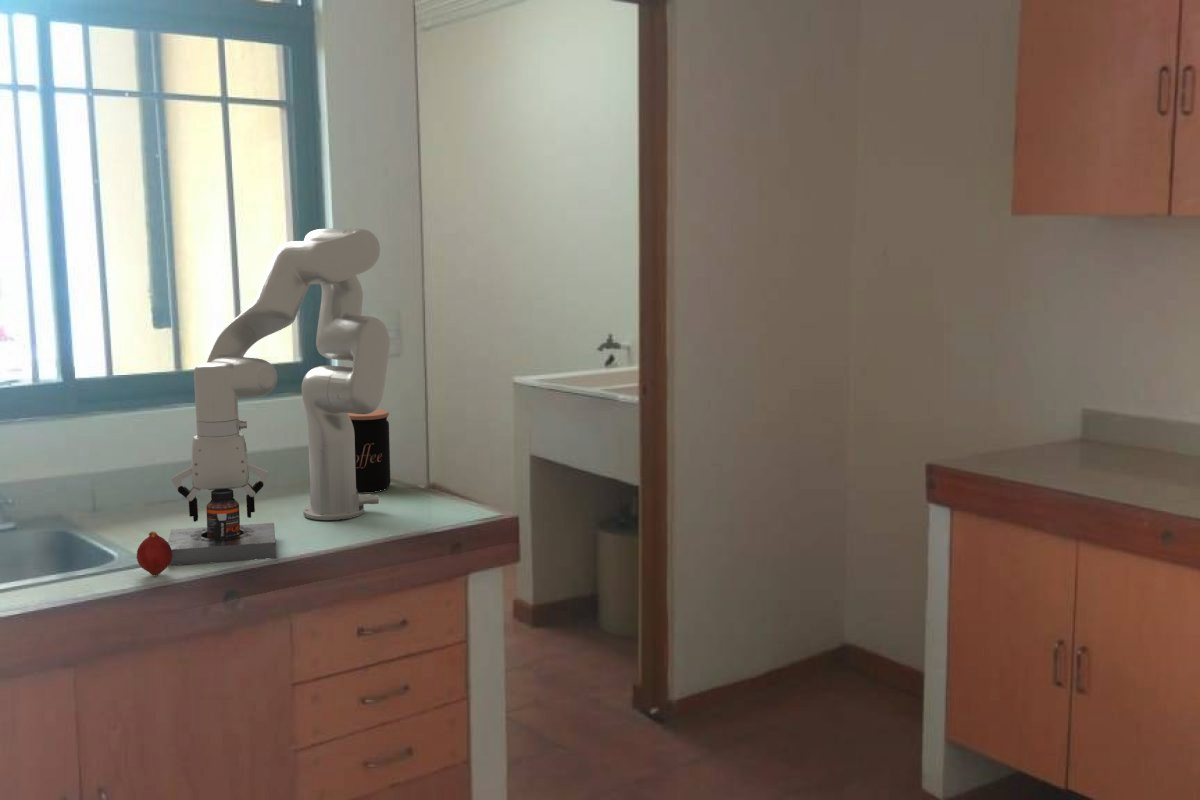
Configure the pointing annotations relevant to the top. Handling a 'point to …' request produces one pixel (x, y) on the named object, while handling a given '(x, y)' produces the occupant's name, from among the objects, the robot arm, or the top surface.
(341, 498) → the robot arm
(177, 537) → the jig plate
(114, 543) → the top surface
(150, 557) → the onion
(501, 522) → the top surface
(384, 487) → the coffee jar
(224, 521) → the supplement bottle
